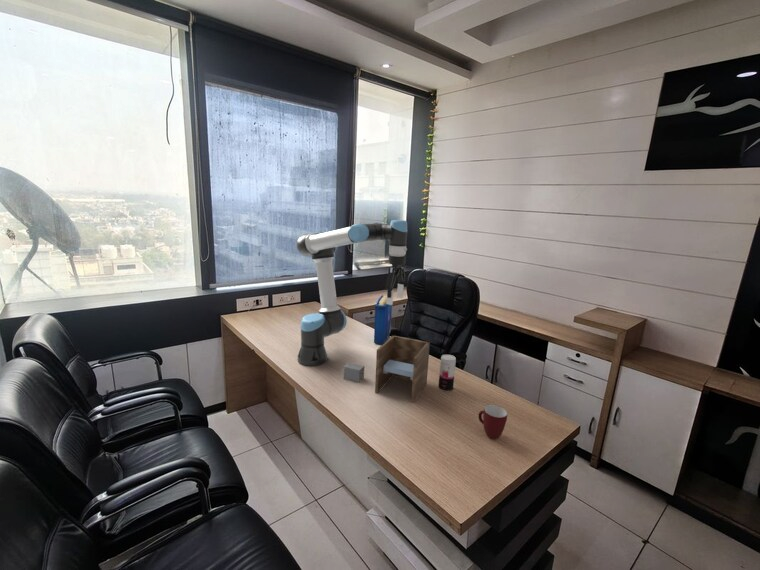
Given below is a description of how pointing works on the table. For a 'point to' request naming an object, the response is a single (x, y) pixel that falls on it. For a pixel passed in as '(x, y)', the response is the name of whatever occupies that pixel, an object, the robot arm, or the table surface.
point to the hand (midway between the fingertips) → (394, 301)
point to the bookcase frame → (405, 353)
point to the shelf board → (399, 368)
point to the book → (382, 320)
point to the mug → (493, 420)
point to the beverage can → (447, 372)
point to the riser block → (353, 372)
